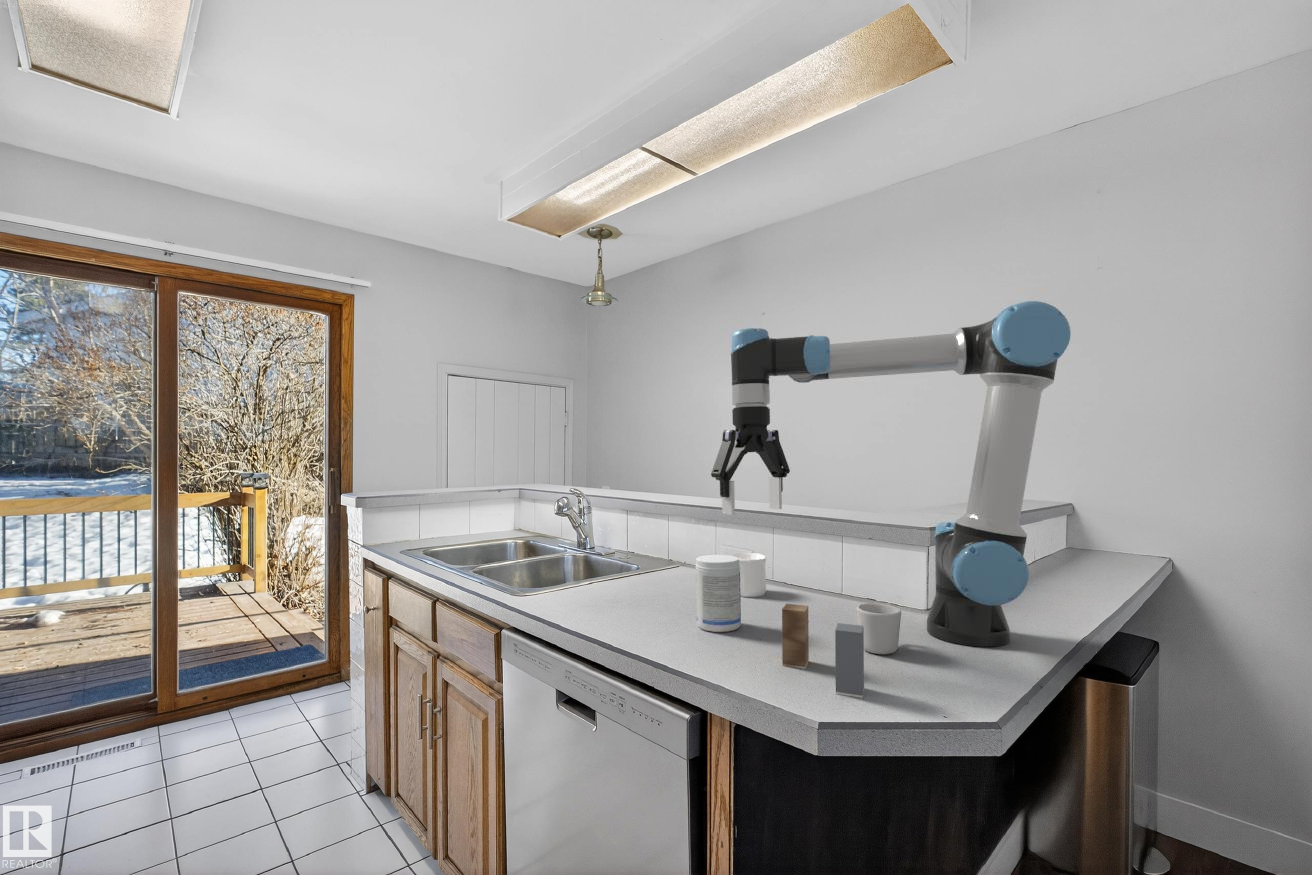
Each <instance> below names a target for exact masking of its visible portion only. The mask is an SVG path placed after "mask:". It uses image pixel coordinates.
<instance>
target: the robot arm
mask: <svg viewBox="0 0 1312 875" xmlns="http://www.w3.org/2000/svg"><path fill="white" fill-rule="evenodd" d="M1071 335H1072V334H1071V326H1070V323H1069V321H1068V319H1067V317H1066V316H1065V315H1064V314H1063V313H1062V311H1060V309H1058V308H1057V307H1055V306H1053V305H1051V304H1050V303H1047V302H1043V301H1039V300H1029V301H1028V300H1027V301H1023V302H1019V303H1015V304H1013V305H1010V306H1007V307H1006V308H1005V309H1003V310H1002V311H1000V312H999V313H998V314H997V316H995V317H994V318H993V319H991V320H989V321H986V322H984V323H981V324H978V325H972V326H963V327H958V328H957V329H956V330H955V331H954V332H953V333H944V334H943V333H942V334H933V335H921V336H909V337H898V338H897V337H896V338H886V339H875V340H863V341H851V342H840V343H831V341H830V338H829V337H828V336H826V335H814V334H813V335H811V334H810V335H808V336H795V337H781V338H772V337H770V336H769V332H768V330H767V329H765V328H760V327H758V328H757V327H756V328H754V327H751V328H742V329H738V330H736V331H735V332H733V333H732V335H731V352H730V362H731V363H730V364H731V366H730V367H731V397H732V398H731V399H732V401H731V402H732V405H733V406H735V407H733V409H732V411H731V413H732V425H733V426H734V427H735V428H734V429H725V430H723V431H722V439H721V440H722V441H721V444H720V446H719V450H718V453H717V456H716V459H715V462H714V463H713V464H714V465H713V468H712V470H711V473H710V476H711V477H712V478H715V480H716V481H719V496H720V498H721V510H722V511H721V512H722V514H723V515H730V516H731V515H735V514H736V512H735V504H736V503H735V480H731V479H732V477H733V476H734V475H735V472H736V471H737V469H738V467H739V466H740V464H741V462H742V460H743V458H744V457H745V455H747V454H748V453H756V454H757V455H758V456H759V457H760V459H761V460H762V461H763V464H764V466H766V469H767V470H768V472H769V473H770V475H771V476H772V477H771V476H770V477H768V486H769V487H768V492H769V493H768V495H769V496H768V497H769V498H768V499H769V506H768V507H769V509H771V510H772V509H774V510H782V509H783V507H782V506H783V504H782V502H783V500H782V499H783V498H782V497H783V496H782V492H783V489H784V487H783V486H784V485H783V484H784V483H783V478H786V477H788V474H790V472H791V470H790V467H789V464H788V461H787V458H786V456H785V453H784V450H783V447H782V444H781V441H780V436H779V435H780V433H779V430H778V429H772V430H771V429H769V430H768V426H769V425H770V424H771V409H770V407H769V406H768V405H769V404H770V403H771V401H770V400H771V397H770V396H771V395H770V394H771V393H770V390H771V389H770V377H777V376H779V377H780V376H782V377H784V376H788V377H789V378H790V379H791V380H793V381H794V382H796V383H801V384H802V383H810V382H812V381H821V380H822V381H823V380H832V379H833V380H835V379H848V378H861V377H862V378H865V377H875V376H876V377H877V376H878V377H879V376H890V375H903V374H904V375H907V374H908V375H909V374H921V373H932V372H933V373H934V372H935V373H936V372H949V371H950V372H951V371H954V372H955V373H957V374H958V375H960V376H961V375H962V376H963V375H965V376H966V375H979V377H980V379H982V381H983V382H984V383H985V384H986V387H987V390H986V394H985V401H984V404H983V412H982V419H981V423H980V424H981V425H980V430H979V435H978V441H977V447H976V453H975V459H974V465H973V471H972V477H971V484H970V488H969V495H968V500H967V506H966V512H965V513H964V515H962V516H960V517H959V518H957V519H956V520H955V522H954V521H953V522H951V521H950V522H947V521H946V522H944V521H943V522H939V523H938V524H937V525H936V526H935V534H934V536H933V537H934V540H935V543H934V544H935V595H934V597H933V598H934V599H933V601H932V604H931V606H930V609H929V613H928V615H927V617H926V631H927V633H928V634H930V635H931V636H933V637H935V638H936V639H940V640H942V641H945V642H949V643H953V644H958V645H964V646H971V647H998V646H999V647H1000V646H1004V645H1006V644H1008V643H1010V640H1011V631H1010V626H1009V624H1008V621H1007V618H1006V615H1005V613H1004V610H1003V607H1002V605H1005V604H1008V603H1010V602H1012V601H1014V600H1016V599H1017V598H1019V597H1020V596H1021V595H1022V593H1024V591H1025V589H1026V587H1027V585H1028V582H1029V576H1030V574H1029V573H1030V572H1029V567H1028V563H1027V560H1026V559H1025V556H1024V554H1025V550H1026V549H1025V548H1026V544H1027V538H1028V533H1027V532H1026V531H1025V530H1024V528H1023V527H1022V525H1021V524H1020V519H1021V513H1022V507H1023V502H1024V496H1025V491H1026V490H1025V489H1026V487H1027V486H1026V485H1027V479H1028V474H1029V468H1030V467H1029V466H1030V461H1031V457H1032V451H1033V443H1034V438H1035V433H1036V426H1037V421H1038V416H1039V409H1040V404H1041V398H1042V393H1043V392H1044V390H1045V389H1046V388H1048V387H1049V386H1051V385H1053V384H1054V382H1055V376H1056V371H1057V370H1056V369H1057V363H1058V361H1059V360H1058V359H1059V358H1061V357H1062V355H1063V354H1065V352H1066V350H1067V349H1068V346H1069V345H1070V340H1071Z"/></svg>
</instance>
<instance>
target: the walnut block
mask: <svg viewBox="0 0 1312 875" xmlns="http://www.w3.org/2000/svg"><path fill="white" fill-rule="evenodd" d="M781 612H782V613H781V616H782V617H781V622H782V623H781V626H782V628H781V630H782V631H781V637H782V638H781V641H782V643H781V646H782V648H781V652H782V653H781V654H782V655H781V656H782V657H781V660H782V664H781V665H782V666H783V667H787V668H789V667H790V668H796V669H804V670H806V669H807V666H808V665H809V657H810V656H809V654H810V653H809V652H810V650H809V648H810V647H809V646H810V645H809V637H810V636H809V633H810V632H809V605H802V604H793V603H792V604H791V603H785V605H784V606H783V607H782V609H781Z"/></svg>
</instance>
